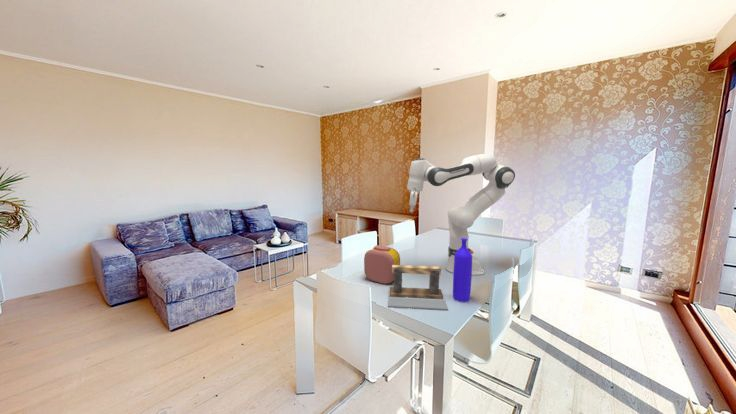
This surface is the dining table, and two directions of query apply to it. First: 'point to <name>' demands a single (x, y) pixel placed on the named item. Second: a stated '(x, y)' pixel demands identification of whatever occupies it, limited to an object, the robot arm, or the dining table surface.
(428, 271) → the rail
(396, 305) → the mat
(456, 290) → the bottle
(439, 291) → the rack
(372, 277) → the alarm clock
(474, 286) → the dining table surface
